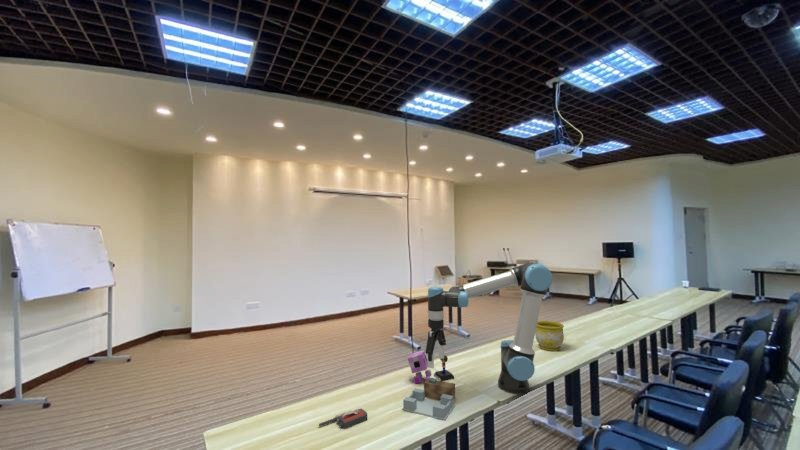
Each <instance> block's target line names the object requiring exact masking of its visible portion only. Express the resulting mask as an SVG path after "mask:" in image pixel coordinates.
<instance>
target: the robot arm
mask: <svg viewBox="0 0 800 450" xmlns="http://www.w3.org/2000/svg"><path fill="white" fill-rule="evenodd" d="M552 284H553V274H552V272H551V271H550V269H549V268H548V267H547V266H546V265H543V264H542V263H536V262H533V261H532V262H525V263H523V264H520V265H518V266H515V267H511V268H510V269H509V270H508V271H505V272H502V273H498V274H495V275H491V276H489V277H488V276H487V277H486V278H481V279H478V280H475V281H474V280H473V281H472V282H468V283H464V284H462V285H459V286H458V285H456V286H455V285H454V286H451V287H449V289H448V290H444V288H443V287H442V286H437V285H436V286H430V287H429V288H428V289H427V290H428V291H427V311H426V312H427V315H428V316H427V318H428V320H427V326H428V328H430V329H431V330H430V331H428V333H427V341H426V347H425V355H426V354H427V361H428V367H427V368H430V369H435V367H434V366H435V363H434V362H435V360H434V358H435V355H434V350H435V346H436V342H438V359H440V358H441V359H444V355H445V346H446V345H447V343H446V342H447V341H446V336H445V331H444V326H445V325H444V317H445V316H444V315H445V314H444V313H445V312H444V308H468V306H469V299H472V298H475V297H478V296H482V295H485V294H489V293H493V292H496V291H499V290H502V289H507V288H510V287H512V286H514V287H520V291H521V293H522V296H521V300H520V301H521V302H520V307H519V312H518V317H517V322H516V327H515V333H514V337H513V340H512V339H507V340H502V341H501V343H500V363H501V365H500V367H501V368H500V373H499V377H498V380H497V387H498V388H499V389H500V390H502V391H504V392H507V393H509V394H510V393H511V394H524V393H527V392H529V391H530V383H529V379H531V378H532V377H533V375H534V374H535V370H536V369H535V364H534V359H535V355H536V354H535V353H536V352H535V350H534V349H533V347H534V346H533V345H534V341H535V337H536V336H535V331H536V326H537V322H538V321H539V316H540V310H541V305H542V300H543V298H544V297H546V296H547V295H548V294H547V293H548V289H549V288H550V287H551V286H552Z"/></svg>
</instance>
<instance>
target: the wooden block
mask: <svg viewBox="0 0 800 450" xmlns="http://www.w3.org/2000/svg"><path fill="white" fill-rule="evenodd" d="M423 390H425V399H430V400H434V401H439V402H441V396H442V394H446V395H451V396H453V402H454V401H455V400H456V384H455V383H453V382H446V381H439V380H438V379H437V378H435V377H430V379H427V380H426V381H425V380H424V382H423Z"/></svg>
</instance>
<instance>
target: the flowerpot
mask: <svg viewBox="0 0 800 450" xmlns="http://www.w3.org/2000/svg"><path fill="white" fill-rule="evenodd" d="M534 337H535V340H536V342H537V343H538V344H537V346H538V347H539V348H540V349H542V350H544V351H549V352H557V351H560V349H561V348H562V345H563V343H564V341H565V340H564V339H565V335H564V324H563V323H561V322H557V321H552V320H538V321H537V326H536V331H535V336H534Z"/></svg>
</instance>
